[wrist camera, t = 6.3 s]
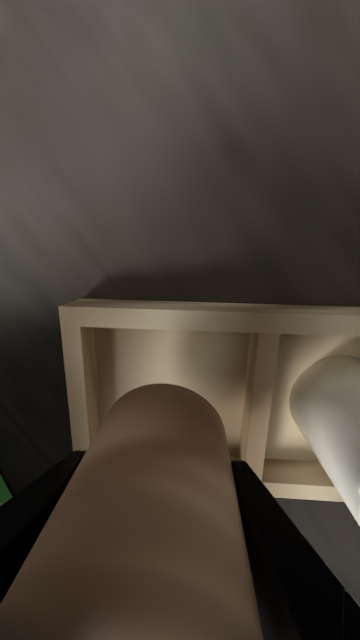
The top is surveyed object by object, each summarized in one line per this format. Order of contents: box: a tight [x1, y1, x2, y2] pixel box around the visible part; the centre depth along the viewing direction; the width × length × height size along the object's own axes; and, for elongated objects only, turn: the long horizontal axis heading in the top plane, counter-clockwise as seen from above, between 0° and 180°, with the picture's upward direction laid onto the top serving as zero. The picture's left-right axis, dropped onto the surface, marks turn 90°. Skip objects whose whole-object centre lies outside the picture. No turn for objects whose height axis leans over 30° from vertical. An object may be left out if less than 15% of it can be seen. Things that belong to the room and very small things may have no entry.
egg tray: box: [58, 298, 360, 502], centre depth 11 cm, size 16×9×2 cm, turn 89°
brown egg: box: [0, 383, 264, 640], centre depth 6 cm, size 4×4×5 cm
